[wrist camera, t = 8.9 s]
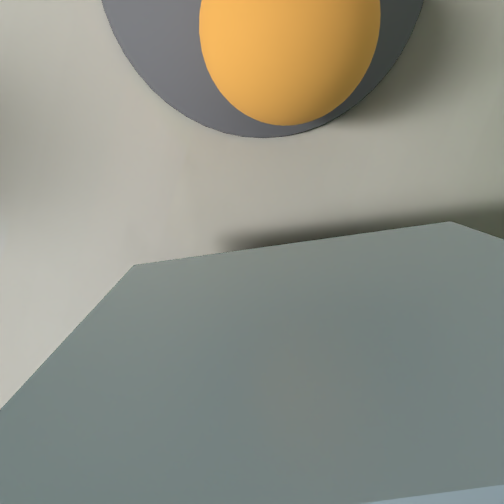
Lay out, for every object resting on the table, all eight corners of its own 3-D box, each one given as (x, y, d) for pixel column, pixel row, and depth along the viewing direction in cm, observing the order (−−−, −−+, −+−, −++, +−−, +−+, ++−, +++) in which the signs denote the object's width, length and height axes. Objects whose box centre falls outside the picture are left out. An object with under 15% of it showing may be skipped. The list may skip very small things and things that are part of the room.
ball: (186, 58, 8) (217, 160, 12) (429, 34, 7) (363, 146, 12) (175, -134, 8) (208, 32, 13) (392, -158, 8) (345, 18, 13)
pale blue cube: (133, 265, 12) (-149, 571, 3) (450, 221, 12) (1017, 416, 3) (191, 507, 14) (120, 1013, 6) (447, 473, 14) (741, 938, 6)
